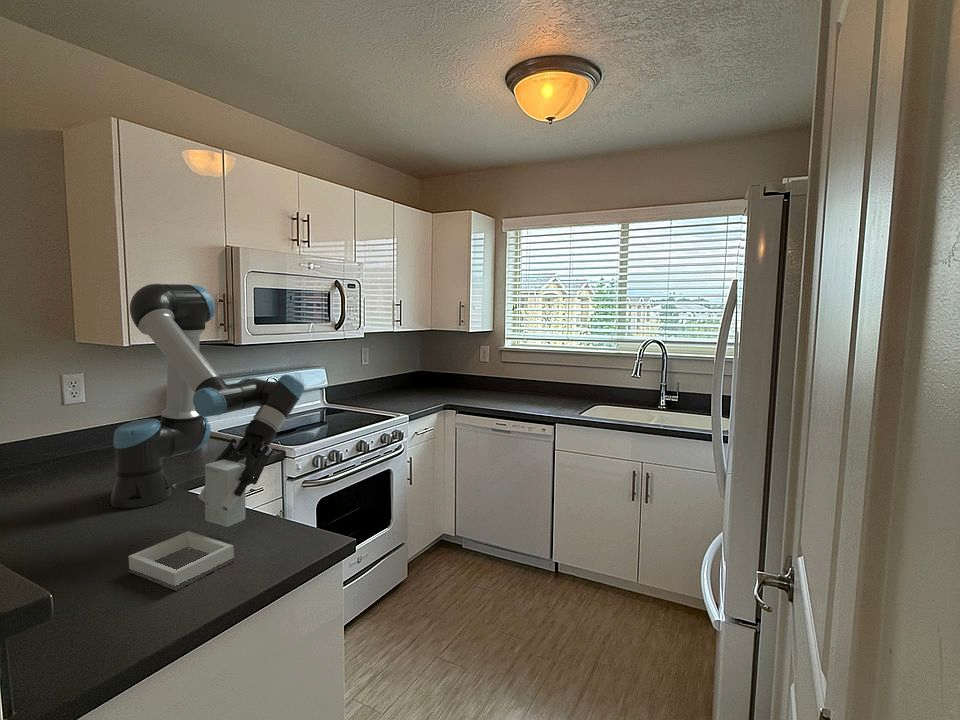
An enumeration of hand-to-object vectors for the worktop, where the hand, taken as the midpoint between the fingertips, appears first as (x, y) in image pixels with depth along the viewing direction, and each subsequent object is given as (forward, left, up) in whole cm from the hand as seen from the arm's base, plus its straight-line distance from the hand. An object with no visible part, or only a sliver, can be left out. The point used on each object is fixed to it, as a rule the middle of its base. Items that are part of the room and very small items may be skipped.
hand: (214, 503), depth 129 cm
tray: (+5, -12, -10) cm, 16 cm away
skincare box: (0, +3, -6) cm, 7 cm away
